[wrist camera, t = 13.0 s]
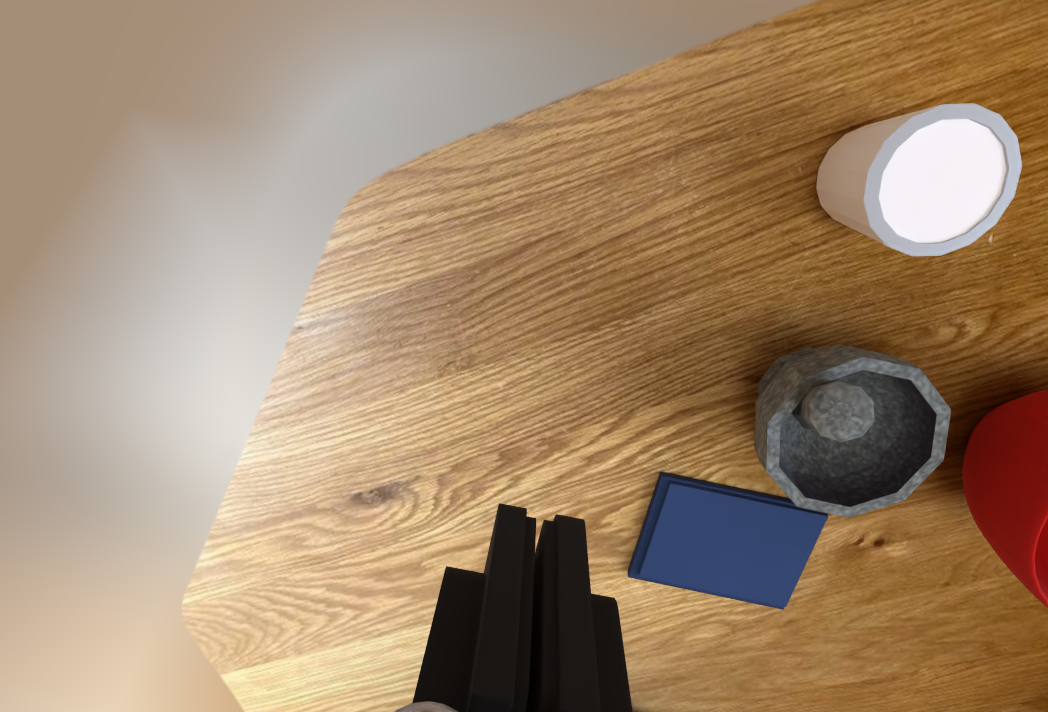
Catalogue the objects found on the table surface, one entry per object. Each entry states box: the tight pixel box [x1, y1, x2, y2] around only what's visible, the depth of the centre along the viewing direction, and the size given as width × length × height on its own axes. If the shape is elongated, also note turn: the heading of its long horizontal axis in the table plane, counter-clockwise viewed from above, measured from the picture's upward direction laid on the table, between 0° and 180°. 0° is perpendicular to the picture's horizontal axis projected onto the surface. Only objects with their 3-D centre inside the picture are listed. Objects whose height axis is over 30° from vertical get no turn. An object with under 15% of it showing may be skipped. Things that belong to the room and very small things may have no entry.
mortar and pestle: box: [754, 344, 951, 518], centre depth 32 cm, size 11×9×12 cm
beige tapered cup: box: [816, 103, 1022, 256], centre depth 30 cm, size 7×7×7 cm
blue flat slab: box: [628, 472, 828, 609], centre depth 41 cm, size 12×9×1 cm
